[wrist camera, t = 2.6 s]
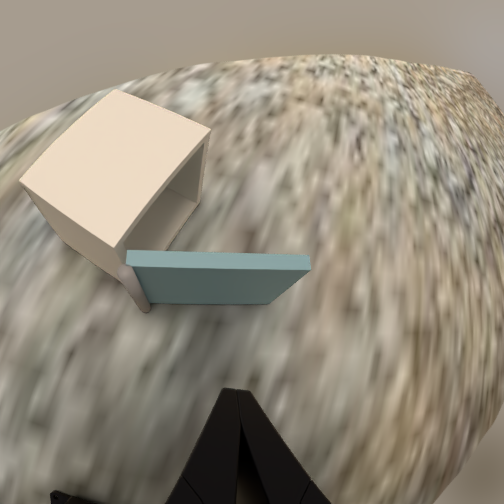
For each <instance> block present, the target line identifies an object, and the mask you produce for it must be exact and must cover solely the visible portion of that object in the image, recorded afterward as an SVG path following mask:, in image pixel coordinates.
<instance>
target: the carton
mask: <svg viewBox="0 0 504 504" xmlns="http://www.w3.org/2000/svg"><path fill="white" fill-rule="evenodd" d="M210 133H211V129H209V128H207V127H205V126H203V125H200V124H198V123H196V122H194V121H192V120H190V119H187V118H185V117H183V116H181V115H178V114H176V113H174V112H171V111H169V110H167V109H164V108H162V107H160V106H157V105H155V104H152V103H150V102H147V101H145V100H142V99H140V98H137V97H135V96H132V95H130V94H127V93H124V92H122V91H119V90H116V89H114V90H113V91H111V92H110V93H109V94H108V95H106V96H105V97H104V98H103V99H101V100H100V101H99V102H98V103H96V104H95V105H94V106H93V107H92V108H91V109H89V110H88V111H87V112H86V113H85V114H84V115H82V116H81V117H80V118H79V119H78V120H77V121H76V122H75V123H73V124H72V125H71V126H70V127H69V128H68V129H67V130H66V131H65V132H64V133H63V134H62V135H61V136H60V137H59V138H58V139H57V140H56V141H55V142H54V143H53V144H52V145H51V146H50V147H49V148H48V149H47V150H46V151H45V152H44V153H43V154H42V155H41V156H40V157H39V158H38V159H37V160H36V161H35V163H34V164H33V165H32V166H31V167H30V168H29V169H28V170H27V172H26V173H25V174H24V175H23V176H22V177H21V179H20V180H19V181H20V183H21V184H22V186H23V187H24V189H25V190H26V192H27V193H28V195H29V196H30V198H31V199H32V201H33V202H34V204H35V205H36V206H37V208H38V209H39V211H40V212H41V213H42V215H43V216H44V217H45V219H46V220H47V221H48V223H49V224H50V225H51V227H52V228H53V229H54V231H55V232H56V233H57V235H58V236H59V237H60V238H61V240H62V241H64V242H65V243H66V244H68V245H69V246H70V247H72V248H73V249H74V250H76V251H77V252H78V253H80V254H81V255H83V256H84V257H85V258H87V259H88V260H90V261H91V262H92V263H94V264H95V265H97V266H98V267H99V268H101V269H102V270H104V271H105V272H107V273H108V274H110V275H111V276H113V277H114V278H116V279H117V280H119V281H120V279H119V277H118V276H117V270H118V268H119V266H121V265H122V264H126V256H127V250H149V251H166V250H167V248H168V247H169V245H170V244H171V243H172V241H173V240H174V238H175V237H176V235H177V234H178V232H179V231H180V229H181V228H182V227H183V225H184V224H185V222H186V221H187V220H188V218H189V217H190V215H191V214H192V212H193V211H194V210H195V208H196V207H197V206H198V204H199V203H200V198H201V191H202V184H203V177H204V170H205V164H206V157H207V151H208V145H209V139H210ZM120 282H121V281H120Z"/></svg>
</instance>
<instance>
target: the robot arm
mask: <svg viewBox="0 0 504 504" xmlns="http://www.w3.org/2000/svg"><path fill="white" fill-rule="evenodd" d="M310 480H311V478H310V476H309V475H308V474H307V472H306V471H305V470H304V468H303V467H302V466H301V464H300V463H299V462H298V460H297V459H296V457H295V456H294V455H293V453H292V452H291V451H290V449H289V448H288V446H287V445H286V443H285V442H284V441H283V439H282V438H281V436H280V435H279V433H278V432H277V431H276V429H275V428H274V426H273V425H272V423H271V422H270V420H269V419H268V417H267V416H266V414H265V413H264V411H263V410H262V408H261V407H260V405H259V404H258V402H257V401H256V399H255V397H254V396H253V394H252V393H251V392H250V391H248V390H240V389H237V390H236V389H231V388H222V390H221V392H220V394H219V396H218V398H217V400H216V403H215V405H214V407H213V409H212V411H211V413H210V415H209V417H208V420H207V422H206V424H205V426H204V428H203V430H202V432H201V434H200V436H199V438H198V440H197V442H196V445H195V447H194V449H193V451H192V453H191V455H190V457H189V459H188V461H187V463H186V465H185V467H184V469H183V471H182V473H181V476H180V477H179V479H178V481H177V483H176V485H175V487H174V489H173V490H172V492H171V494H170V496H169V497H168V499H167V501H166V502H165V504H331V503H330V501H329V500H328V499H327V498H326V497H325V496H324V494H323V493H322V492H321V491H320V489H319V488H318V487H317V486H316V484H315V483H314V482H313V481H312V480H311V481H310ZM55 495H57V496H58V498H57V497H56V496H55ZM50 499H51V504H95V503H92V502H88V501H85V500H83V499H80V498H77V497H74V496H72V497H71V496H69V495H66V494H63V493H61V492H58V491H53V492H51V493H50Z"/></svg>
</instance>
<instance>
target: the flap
mask: <svg viewBox="0 0 504 504" xmlns="http://www.w3.org/2000/svg"><path fill="white" fill-rule="evenodd" d="M310 270H311V266H310V258H309V255H288V254H252V253H217V252H183V251H149V250H127V256H126V264H122V265H121V266H119V268H118V270H117V276H118V277H119V279H120V281H121V282H122V284H123V285H124V287H125V288H126V290H127V291H128V292H129V294H130V295H131V297H132V298H133V300H134V301H135V303H136V304H137V305H138V307H139V308H140V310H141V311H142V312H144V313H147V312H149V311H150V309H151V305H150V303H167V304H269V303H271V302H272V301H273V300H274V299H276V298H277V297H278V296H279V295H281V294H282V293H283V292H284V291H286V290H287V289H288V288H289V287H291V286H292V285H293V284H294V283H296V282H297V281H298V280H299V279H301V278H302V277H303V276H304V275H305V274H307V273H308V272H309V271H310Z"/></svg>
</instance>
